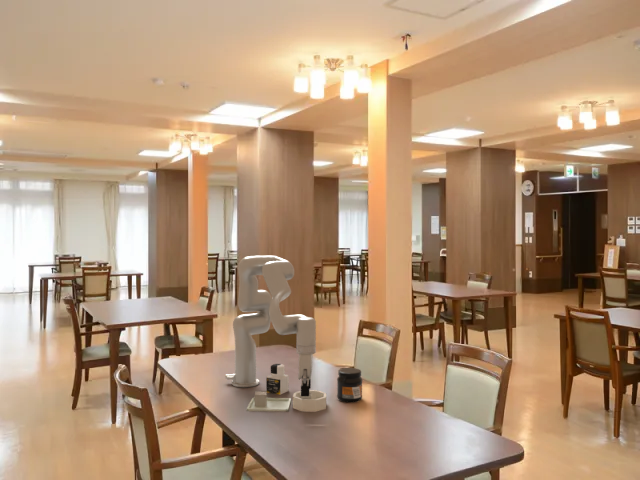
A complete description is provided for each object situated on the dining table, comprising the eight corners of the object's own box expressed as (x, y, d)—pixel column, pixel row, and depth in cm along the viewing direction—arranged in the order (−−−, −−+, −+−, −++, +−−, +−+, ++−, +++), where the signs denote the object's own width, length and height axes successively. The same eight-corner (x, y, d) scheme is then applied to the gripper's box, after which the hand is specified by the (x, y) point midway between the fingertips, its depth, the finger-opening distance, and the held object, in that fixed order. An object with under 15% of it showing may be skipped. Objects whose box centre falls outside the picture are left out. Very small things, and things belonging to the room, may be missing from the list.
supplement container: (360, 404, 221) (360, 374, 221) (334, 402, 223) (335, 373, 223) (363, 396, 231) (363, 368, 231) (339, 394, 233) (339, 366, 233)
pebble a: (299, 407, 214) (299, 395, 213) (300, 404, 217) (300, 392, 217) (311, 407, 214) (311, 395, 213) (311, 404, 217) (311, 392, 217)
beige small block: (254, 406, 216) (254, 394, 216) (256, 403, 219) (256, 391, 219) (265, 406, 216) (265, 394, 215) (266, 403, 219) (266, 391, 219)
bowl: (291, 412, 210) (292, 399, 210) (294, 401, 223) (294, 389, 223) (325, 412, 210) (325, 400, 210) (326, 402, 223) (326, 390, 223)
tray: (246, 411, 211) (246, 408, 211) (252, 400, 225) (252, 397, 225) (287, 412, 210) (287, 409, 210) (291, 401, 224) (291, 398, 224)
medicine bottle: (266, 393, 235) (266, 365, 235) (274, 389, 241) (275, 362, 241) (280, 395, 231) (280, 367, 231) (288, 391, 238) (289, 363, 238)
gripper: (298, 344, 224) (297, 385, 224) (294, 353, 206) (294, 398, 207) (316, 344, 223) (316, 386, 224) (314, 354, 206) (314, 399, 206)
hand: (305, 392), depth 215 cm, fingers open, 9 cm apart
